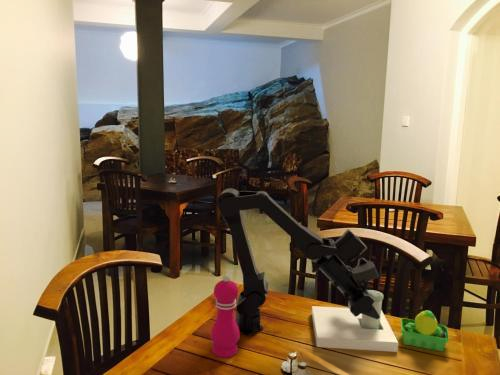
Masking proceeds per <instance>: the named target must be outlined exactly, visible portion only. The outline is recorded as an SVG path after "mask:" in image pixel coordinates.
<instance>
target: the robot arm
mask: <svg viewBox="0 0 500 375" xmlns="http://www.w3.org/2000/svg"><path fill="white" fill-rule="evenodd" d="M216 205H217V208H218V211H219V212H220V213H219V214H220V216H221V217H222V218H223V220H224V221H225V224H227V226H228V228H229V232H230V235H231V240H232V242H233V246H234V249H235V252H236V256H237V259H238V263H239V266H240V269H241V272H242V285H243V289H242V291H240V292H238V296H237V300H236V306H235V308H236V310H235V316H236V317H235V320H236V323H237V325H238V327H239V332H240V334H243V335H244V336H250V335H252V334H254V333H257V332H260V331H262V330H264V326H263V325H261V315H260V314H261V312H260V311H261V309H260V308H259V307H261V306H263V305H265V302H266V299H267V295H268V293H269V292H268V290H269V283H268V281H267V279H266V272H265V271H262V272H261V273H260V271H259V270H258V268H257V264H256V262H255V259H254V255H253V252H252V248H251V244H250V240H249V237H248V234H247V230H246V226H245V223H244V219H243V214H244V213H243V211H245V210H254V209H259V210H261V211H262V212H263V213H264V215H265V216H267V217H269V218H270V219H271V220H272V221H273V222H274V224H276V225H277V226H278V227H280V229H282V231H284V232H285V234H287V235H288V236H290V238H291V239H292V240H293V242H294V243H295V245H296V247H298V249H299V250H300V251H301V253H302V254H303V255H304V257H305V258H306V259H308V260H310V263H311V265H310V267H311V268H310V269H311V272H312V273H313V274H315V273H316V272H317V271H318V270H320V271H321V272H322V274H324V275H325V276H326V277H327V279H329V281H330V282H331V283H332V285H333V287H334V288H335V289H336V288H337V289H338V290H339V291H340V293H342V295H343V298H344V299H345V300H347V299H348V298H349V300H348V302H347V303H348V304H347V305H348V307H347V308H349V309H350V312H351V313H352V314H353V315H354V316H355V317H356V316H358V315H360V314H364V315H367V316H369V317H372V318H375V319H379V318H380V316H379V314H378V312H377V311H376V309H375V308H374V306H373V305H372V304H373V303H374V300H373V297H372V295H371V293H369V292H368V291H367V290H368V289H366V288H367V282H369V281H371V280H376V279H379V277H380V276H379V273H378V270H377V268H376V266H375V264H374V262H373V261H371V260H367V259H365V258H364V257H360V258H359V259H358V260H357V265H355V267H353V268H352V267H351V266H350V265H346V264H345V262H347V263H349V262H350V263H352V262H354V260H356V259H357V258H358V257H359V256H360V255H361V254H363V253H364V252H365V251H366V250H367V249H368V247H367V245H366V244H365V243H364V242H363V241H362V240H361V238H360V237H359V236H358V235H356V234H355V233H354V232H352V230H350V229H347V230H345V231H344V233H343V234H342V235H340V237H339V238H337V239H336V240H335V241H334V239H332V238H327V237H326V238H325V237H322V236H321V235H320V234H318V233H317V232H315V231H313V230H311V229H310V228H308V227H305V226H304V225H302V224H301V223H299V222H298V221H297V220H296V219H295V218H294V217H293V216H291V215H290V213H288V212H287V211H286V210H285V209H284V208H283V207H282V206H280V205H279V203H277V202H276V201H275V200H274V199H273V198H272V197H271V196H270V195H269V193H267V192H266V191H264V190H260V191H259V190H258V191H253V190H252V191H247V190H237V189H235V188H231V187H229V188H226V189H224V190H223V191H222V192H221V194H219V196H218V198H217V200H216ZM343 261H344V262H343Z"/></svg>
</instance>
